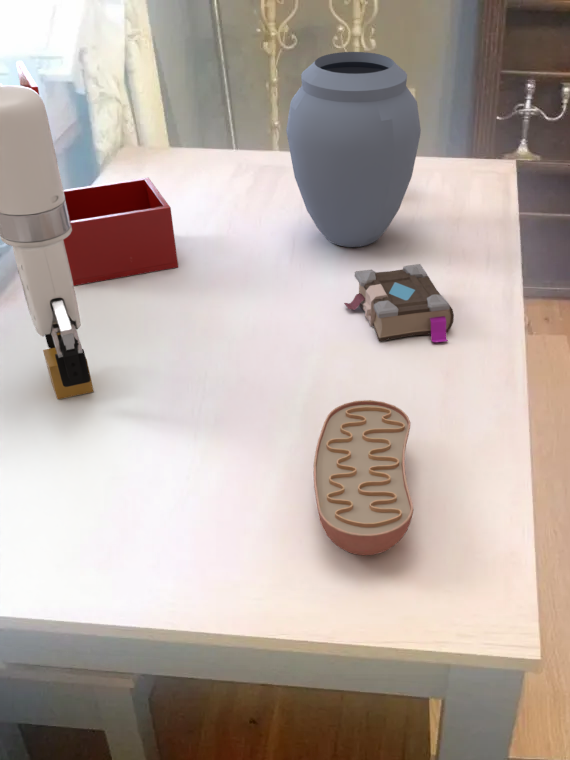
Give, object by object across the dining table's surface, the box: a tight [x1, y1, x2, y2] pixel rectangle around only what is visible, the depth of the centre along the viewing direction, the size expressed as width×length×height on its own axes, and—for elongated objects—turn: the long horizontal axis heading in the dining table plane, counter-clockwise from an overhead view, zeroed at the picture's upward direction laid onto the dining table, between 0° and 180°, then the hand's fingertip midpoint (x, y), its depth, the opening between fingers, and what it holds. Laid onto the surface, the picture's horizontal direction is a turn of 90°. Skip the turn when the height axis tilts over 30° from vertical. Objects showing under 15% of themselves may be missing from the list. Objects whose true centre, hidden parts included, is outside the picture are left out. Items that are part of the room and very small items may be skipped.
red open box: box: [63, 176, 179, 287], centre depth 132 cm, size 16×13×9 cm
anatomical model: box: [313, 399, 414, 556], centre depth 92 cm, size 23×10×5 cm, turn 178°
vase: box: [285, 51, 422, 248], centre depth 132 cm, size 20×20×24 cm
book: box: [343, 263, 455, 343], centre depth 122 cm, size 20×12×5 cm, turn 14°
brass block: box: [42, 348, 95, 400], centre depth 108 cm, size 4×4×4 cm
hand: (68, 363), depth 108 cm, fingers open, 9 cm apart
